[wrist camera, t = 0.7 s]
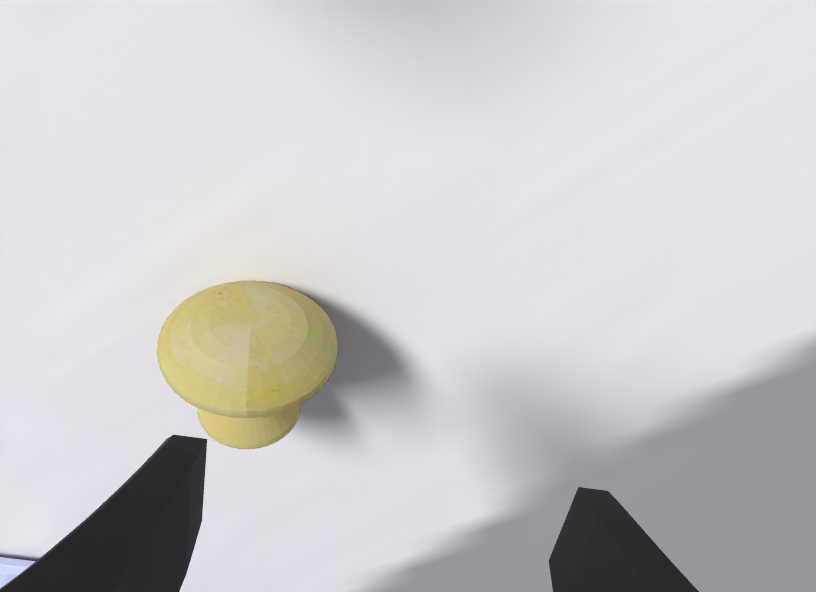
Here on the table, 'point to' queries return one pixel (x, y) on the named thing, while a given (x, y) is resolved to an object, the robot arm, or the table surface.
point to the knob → (247, 358)
